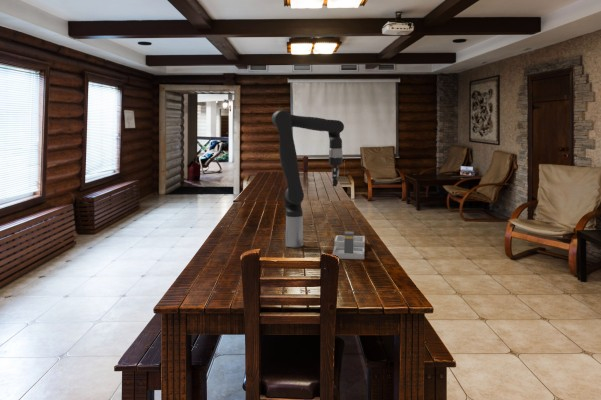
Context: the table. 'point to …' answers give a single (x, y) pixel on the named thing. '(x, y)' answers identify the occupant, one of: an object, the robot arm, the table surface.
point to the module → (348, 242)
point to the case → (357, 242)
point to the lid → (357, 253)
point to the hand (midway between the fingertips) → (335, 185)
